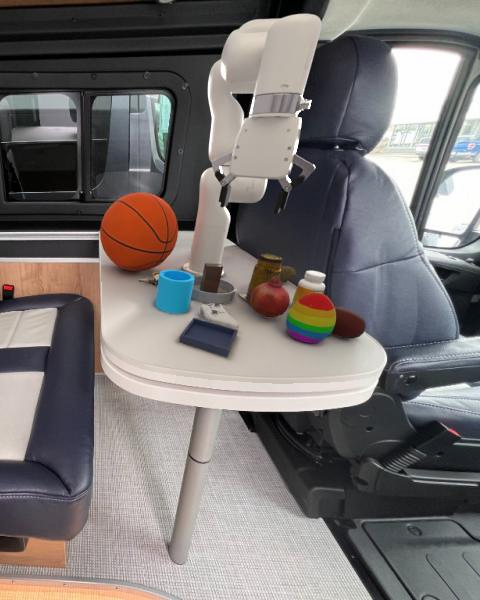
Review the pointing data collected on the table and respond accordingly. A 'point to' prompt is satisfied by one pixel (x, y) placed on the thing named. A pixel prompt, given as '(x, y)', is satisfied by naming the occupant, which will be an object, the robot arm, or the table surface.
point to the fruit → (270, 299)
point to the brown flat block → (211, 278)
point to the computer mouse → (155, 278)
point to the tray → (209, 337)
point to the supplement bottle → (309, 285)
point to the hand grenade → (286, 273)
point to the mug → (174, 291)
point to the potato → (348, 324)
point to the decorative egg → (311, 318)
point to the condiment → (263, 272)
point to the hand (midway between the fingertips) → (249, 209)
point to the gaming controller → (218, 315)
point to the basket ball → (139, 231)
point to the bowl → (213, 297)
